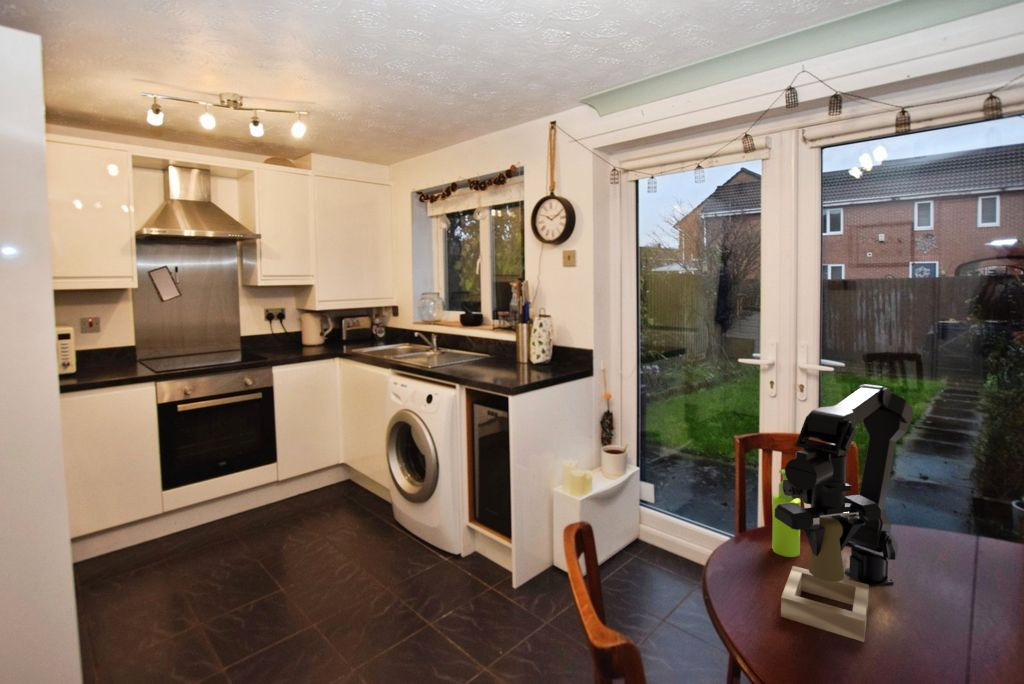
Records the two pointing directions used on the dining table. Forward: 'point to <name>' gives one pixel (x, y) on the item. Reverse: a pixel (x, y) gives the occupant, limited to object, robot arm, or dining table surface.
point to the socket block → (824, 614)
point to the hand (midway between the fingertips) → (826, 553)
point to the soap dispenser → (784, 527)
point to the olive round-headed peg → (829, 553)
